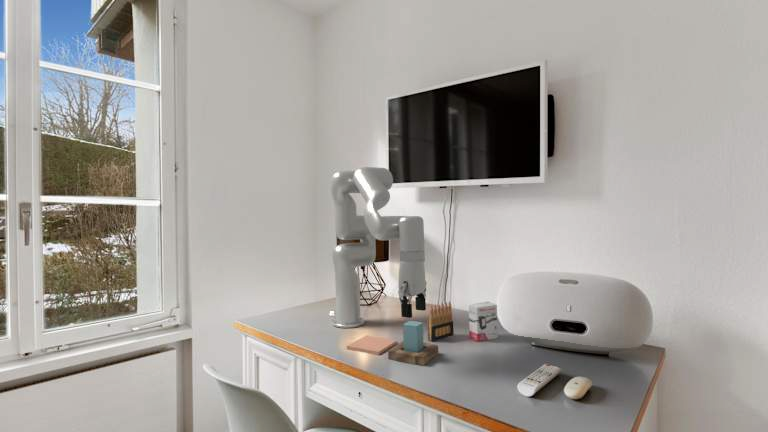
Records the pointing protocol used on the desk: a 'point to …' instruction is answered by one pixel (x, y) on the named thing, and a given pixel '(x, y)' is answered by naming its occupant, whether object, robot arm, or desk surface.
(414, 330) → the teal block
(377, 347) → the tile
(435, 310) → the ammunition clip
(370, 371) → the desk surface
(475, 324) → the ink box
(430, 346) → the holder
